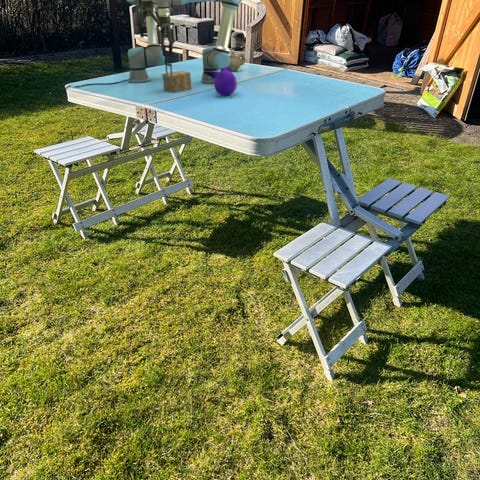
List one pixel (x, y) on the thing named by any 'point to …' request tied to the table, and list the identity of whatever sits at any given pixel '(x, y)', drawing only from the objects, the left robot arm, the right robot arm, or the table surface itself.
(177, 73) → the lid
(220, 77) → the toy
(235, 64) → the teapot
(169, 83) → the chest
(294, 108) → the table surface
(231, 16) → the right robot arm
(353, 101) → the table surface
